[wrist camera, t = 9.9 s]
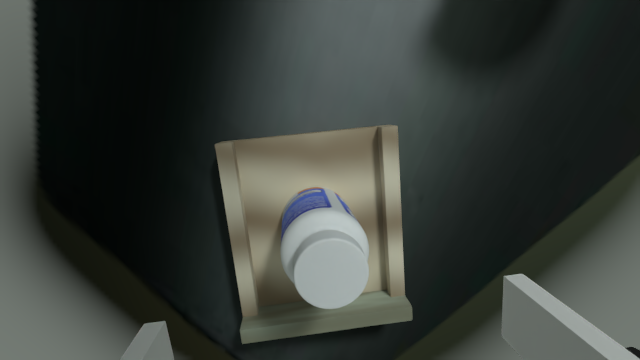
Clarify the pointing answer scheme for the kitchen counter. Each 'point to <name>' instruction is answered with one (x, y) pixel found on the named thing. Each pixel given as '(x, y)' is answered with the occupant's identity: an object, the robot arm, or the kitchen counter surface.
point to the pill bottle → (324, 248)
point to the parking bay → (266, 225)
